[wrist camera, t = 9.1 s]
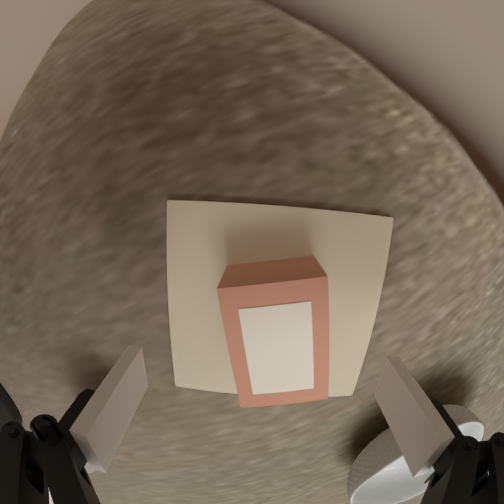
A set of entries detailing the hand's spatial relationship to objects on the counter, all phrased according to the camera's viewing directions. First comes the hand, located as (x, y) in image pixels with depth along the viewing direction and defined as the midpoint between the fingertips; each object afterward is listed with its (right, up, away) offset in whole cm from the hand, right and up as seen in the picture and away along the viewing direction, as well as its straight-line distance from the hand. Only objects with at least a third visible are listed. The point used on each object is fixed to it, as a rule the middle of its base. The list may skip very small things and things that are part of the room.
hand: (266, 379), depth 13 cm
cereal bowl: (+18, -16, +11) cm, 26 cm away
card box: (+1, +2, +7) cm, 7 cm away
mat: (+1, +2, +7) cm, 8 cm away
